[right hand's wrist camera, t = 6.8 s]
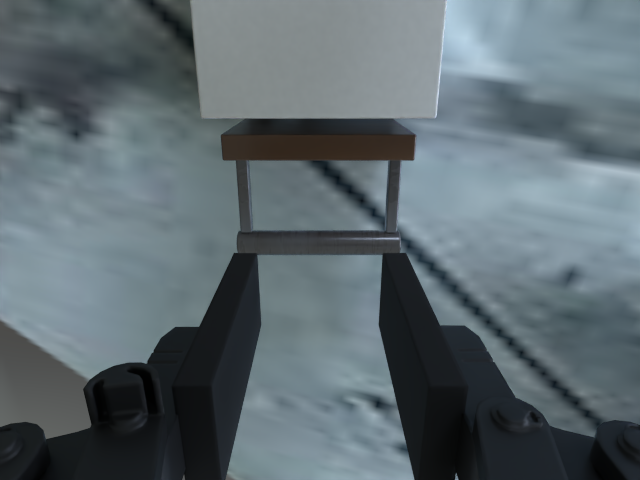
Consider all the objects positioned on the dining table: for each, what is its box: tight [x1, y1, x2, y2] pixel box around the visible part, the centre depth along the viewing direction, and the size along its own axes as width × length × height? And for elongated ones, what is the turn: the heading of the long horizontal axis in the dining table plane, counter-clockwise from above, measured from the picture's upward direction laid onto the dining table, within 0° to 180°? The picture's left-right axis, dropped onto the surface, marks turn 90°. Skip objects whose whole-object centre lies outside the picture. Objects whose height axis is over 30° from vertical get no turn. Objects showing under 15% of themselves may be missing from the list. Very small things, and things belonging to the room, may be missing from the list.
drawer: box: [221, 119, 416, 255], centre depth 22 cm, size 25×9×7 cm, turn 0°
